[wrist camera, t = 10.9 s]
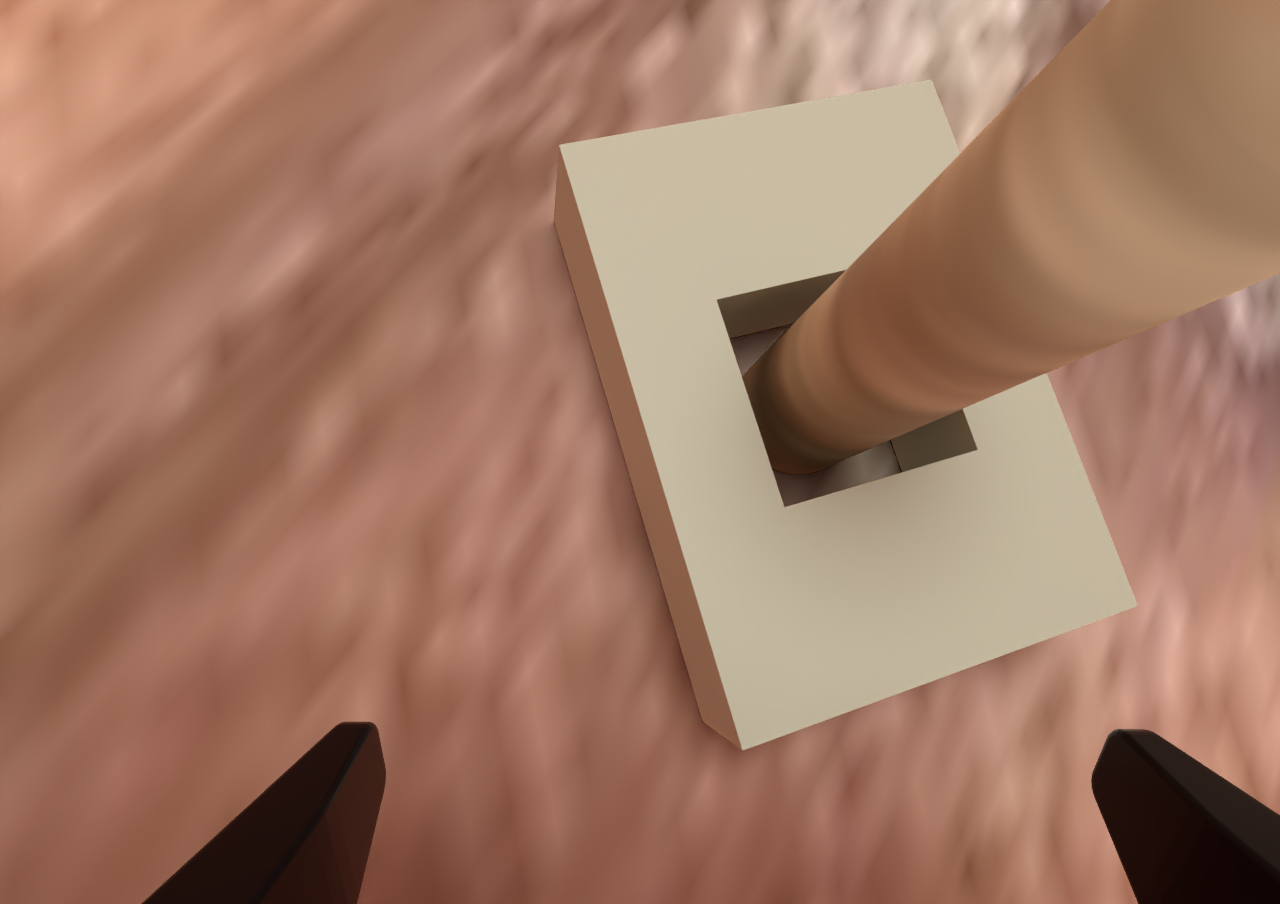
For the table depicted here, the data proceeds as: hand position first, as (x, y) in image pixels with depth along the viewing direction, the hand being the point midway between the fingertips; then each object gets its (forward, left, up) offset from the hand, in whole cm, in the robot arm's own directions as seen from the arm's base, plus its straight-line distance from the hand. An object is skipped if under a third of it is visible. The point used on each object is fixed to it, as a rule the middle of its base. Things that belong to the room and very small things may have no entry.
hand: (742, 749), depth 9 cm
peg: (+5, -6, -10) cm, 13 cm away
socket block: (+5, -6, -10) cm, 13 cm away
